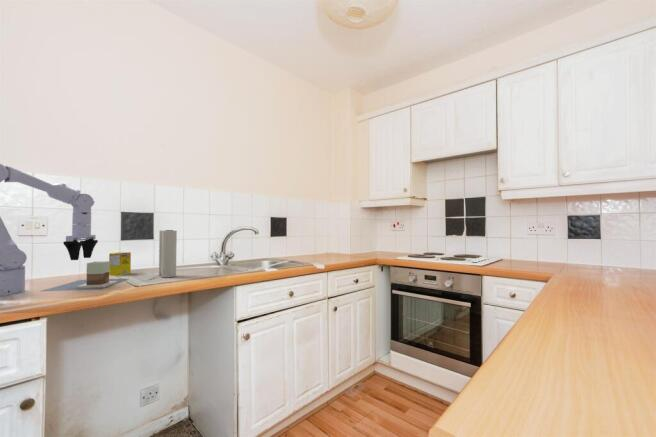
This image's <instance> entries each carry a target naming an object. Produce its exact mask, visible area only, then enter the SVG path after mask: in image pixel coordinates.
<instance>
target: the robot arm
mask: <svg viewBox="0 0 656 437" xmlns="http://www.w3.org/2000/svg"><path fill="white" fill-rule="evenodd" d="M1 182H4V183H19V184H22V185H25V186H28V187H31V188H33V189H37V190H39V191H43V192H45V193H46V194H47V196H48V197H49V198H51V199H54V200H56V201H59V202H62V203H65V204H68V205H70V206H72V223H71V224H72V225H71V226H72V227H71V235H66V236H65V241H63V246H64V247H65V248H66V250H67V252H68V255H69V258H70V261H78V260H79V258H80V253H81V248H82V256H83V259H91V258H92V255H93V251H94V249H95V247H96V245H97V244H98V242H99V241H98V239H96V234H92V207H93V206H94V205H95V200H94V198H93V197H92V196H91V195H90V194H87V193H81V190H79V189H77V190H76V189H74V188H70V187H68V186H67V184H65V183H58V182H57V183H53V184H51V183H49V182H47V181H44V180H43V179H40V178H38V177H35V176H33V175H31V174H28V173H26V172H24V171H21V170H19V169H17V168H14V167H13V166H9V165H4V164H2V163H0V183H1ZM27 258H28V257H27V254H26V252H24V251H23V250H21V249H20V248H19V247H18V245H17V243H16V242H15V241H14V240H13V238H12V236H11V235H10V233H9V230H8V229H7V227H6V225H5V222H4V220H3V219H2V216H0V297H6V296H10V295H13V294H18V293H22V292H25V290H26V266H25V265H24V264H25V263H26V261H27Z"/></svg>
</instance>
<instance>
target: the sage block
mask: <svg viewBox="0 0 656 437" xmlns="http://www.w3.org/2000/svg"><path fill="white" fill-rule="evenodd" d="M106 272H109V260H108V261H103V260H102V261H91V262H87V263H86V275H87V274H103V273H106Z"/></svg>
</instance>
